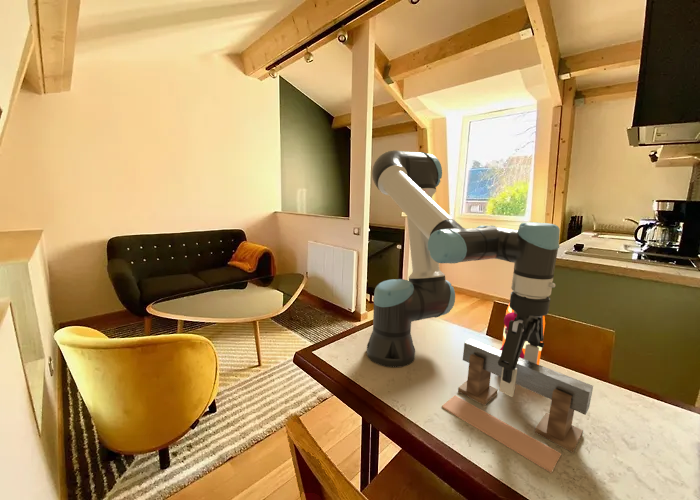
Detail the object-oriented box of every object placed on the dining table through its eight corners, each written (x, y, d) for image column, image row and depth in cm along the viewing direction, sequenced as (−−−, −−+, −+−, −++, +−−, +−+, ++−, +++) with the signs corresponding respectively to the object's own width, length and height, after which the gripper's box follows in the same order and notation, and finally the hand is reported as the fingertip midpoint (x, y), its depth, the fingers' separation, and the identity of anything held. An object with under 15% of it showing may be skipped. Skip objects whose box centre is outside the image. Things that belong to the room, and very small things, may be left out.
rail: (462, 360, 80) (464, 342, 79) (468, 355, 82) (470, 338, 81) (585, 415, 61) (589, 392, 60) (589, 407, 63) (593, 385, 62)
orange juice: (500, 351, 100) (508, 293, 96) (531, 356, 98) (539, 296, 94) (506, 364, 92) (514, 301, 89) (538, 369, 90) (548, 305, 86)
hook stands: (458, 391, 80) (461, 352, 77) (471, 380, 84) (475, 343, 82) (573, 453, 61) (582, 404, 59) (582, 435, 66) (590, 389, 64)
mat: (441, 407, 74) (441, 405, 74) (454, 396, 78) (454, 395, 78) (551, 473, 57) (551, 471, 57) (560, 455, 61) (561, 453, 61)
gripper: (528, 312, 56) (514, 414, 60) (566, 286, 72) (553, 368, 77) (487, 301, 62) (477, 395, 66) (531, 279, 78) (521, 356, 82)
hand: (518, 381), depth 71 cm, fingers open, 13 cm apart
